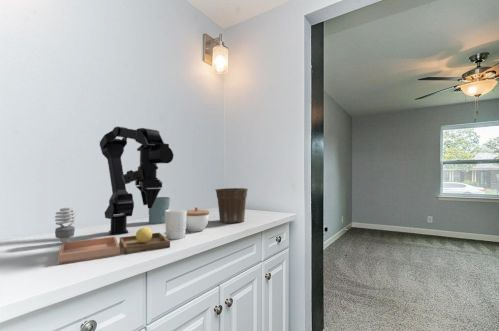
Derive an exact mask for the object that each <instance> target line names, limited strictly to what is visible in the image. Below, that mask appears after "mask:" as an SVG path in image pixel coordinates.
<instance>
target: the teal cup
mask: <svg viewBox="0 0 499 331" xmlns="http://www.w3.org/2000/svg"><path fill="white" fill-rule="evenodd" d="M170 202H171V198H170V197H169V196H167V197H166V196H157V197H156V199H155V201H154V204H153V206H152V208H148V224H150V225H162V224H163V225H164V224H165V210H169V207H170Z"/></svg>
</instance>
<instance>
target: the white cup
mask: <svg viewBox="0 0 499 331" xmlns="http://www.w3.org/2000/svg"><path fill="white" fill-rule="evenodd" d="M168 209H169V208H168ZM186 219H187V209H185V208H170V209H169V210H165V223H164V224H165V234H166V236H165V237H166V238H167V239H168V240H181V239H183V238H185V237H186V229H187V227H186Z"/></svg>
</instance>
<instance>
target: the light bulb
mask: <svg viewBox="0 0 499 331" xmlns="http://www.w3.org/2000/svg"><path fill="white" fill-rule="evenodd" d="M75 220H76V210H74V209H72V208H71V207H62V208H60V209H59V211H56V212H55V216H54V221H55V225H56V226H57V225H58V226H59V227H56V228H55V231H54V232H55V233H54V234H55V238H56V239H59V240H60V241H59V242H60V243H61V244H62V243H64V242H70V238H71V237H73V236H75V226H73V224H75ZM64 224H68V225H64Z"/></svg>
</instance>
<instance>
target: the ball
mask: <svg viewBox="0 0 499 331" xmlns="http://www.w3.org/2000/svg"><path fill="white" fill-rule="evenodd" d="M152 233H153V232H152V230H151V229H150V228H149V227H146V226H144V227H141V228H139V229H138V230H137V231H136V234H135V236H136V239H137V241H138V242H140V243H146V242H148V241H149V240H150V239H151V238H152Z"/></svg>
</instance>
